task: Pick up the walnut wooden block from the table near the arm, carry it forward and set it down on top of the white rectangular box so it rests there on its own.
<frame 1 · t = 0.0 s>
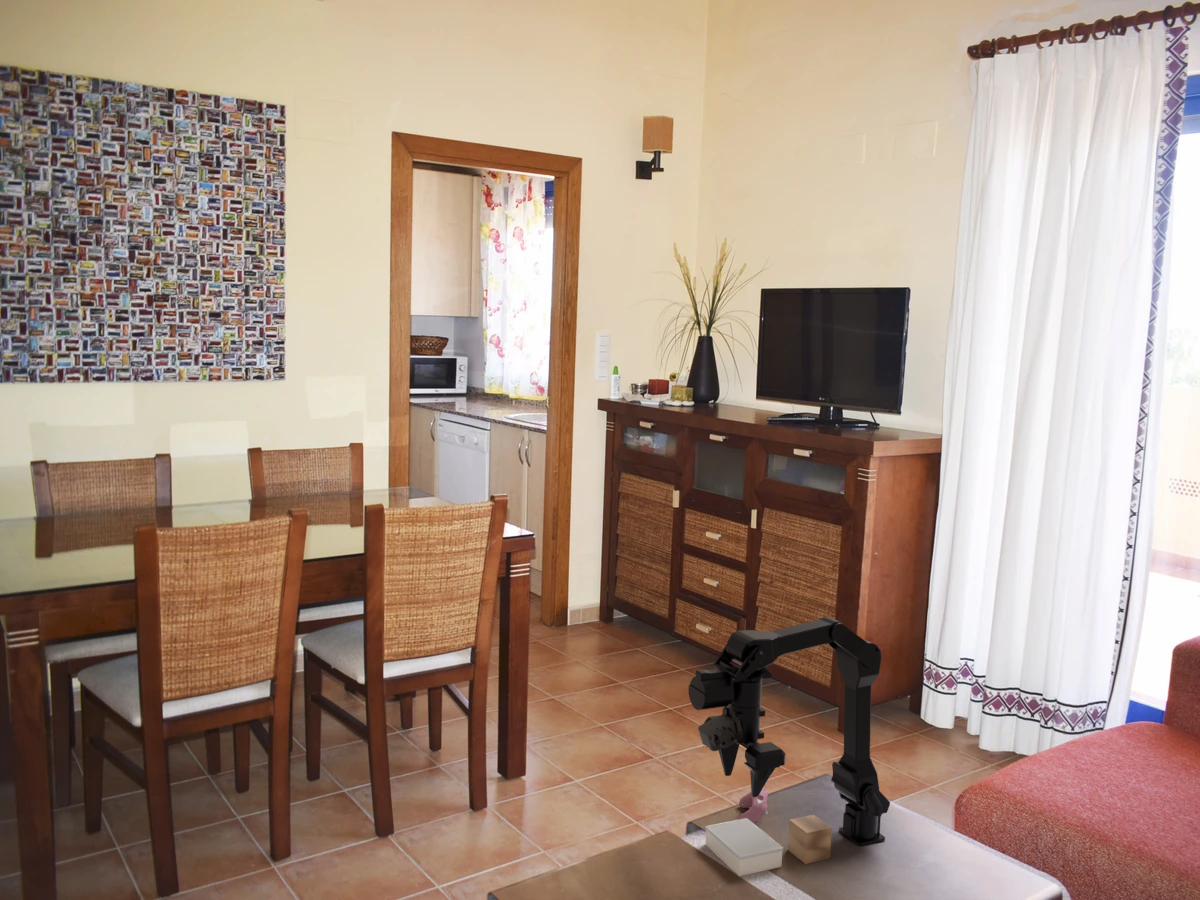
hand: (741, 785, 174), 15 cm above the table, tool pointing down, fingers open, 9 cm apart
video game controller: (752, 819, 193), on the table
walnut block: (808, 854, 180), on the table
white rectangular box: (742, 857, 178), on the table
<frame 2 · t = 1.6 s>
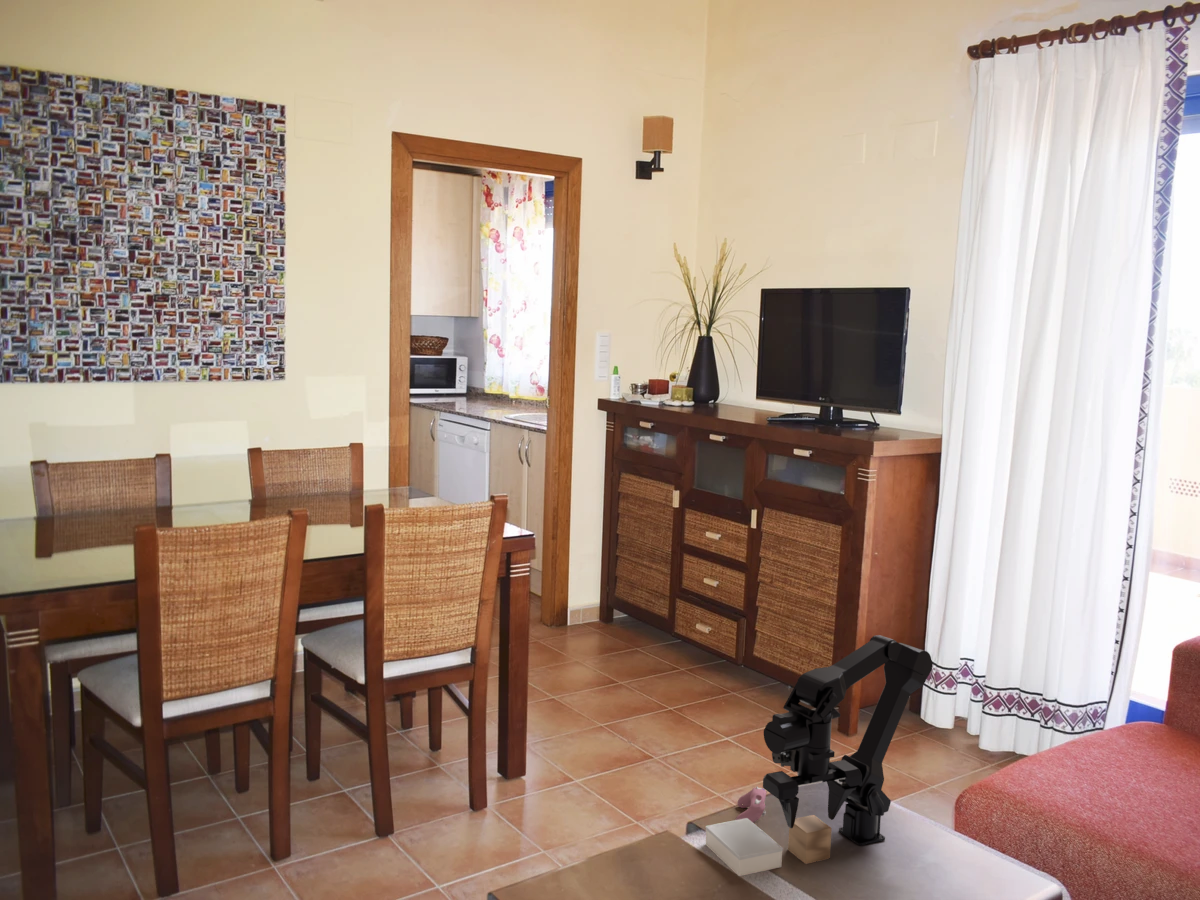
hand: (810, 823, 179), 6 cm above the table, tool pointing down, fingers open, 9 cm apart
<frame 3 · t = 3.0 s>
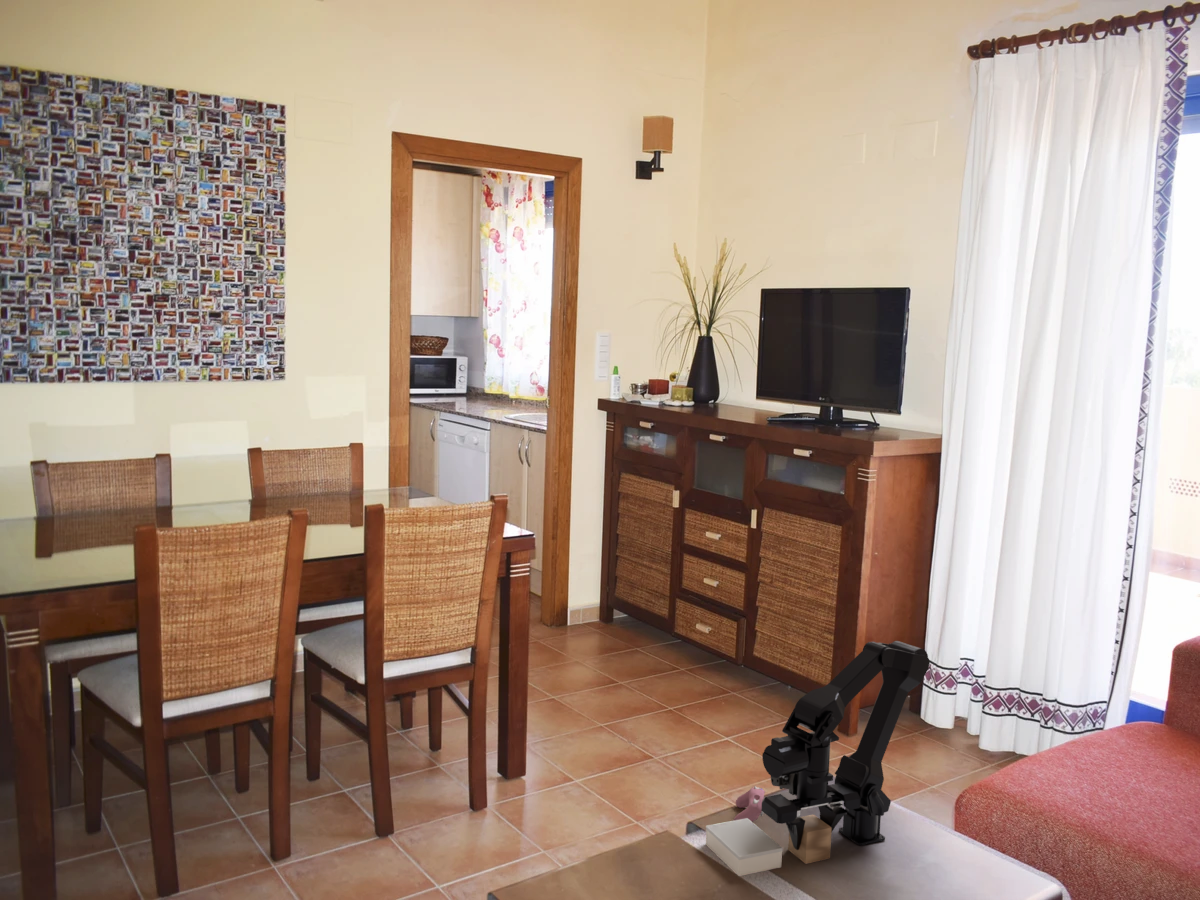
hand: (809, 846, 180), 2 cm above the table, tool pointing down, fingers closed on walnut block, 5 cm apart
walnut block: (808, 853, 180), on the table, touching gripper
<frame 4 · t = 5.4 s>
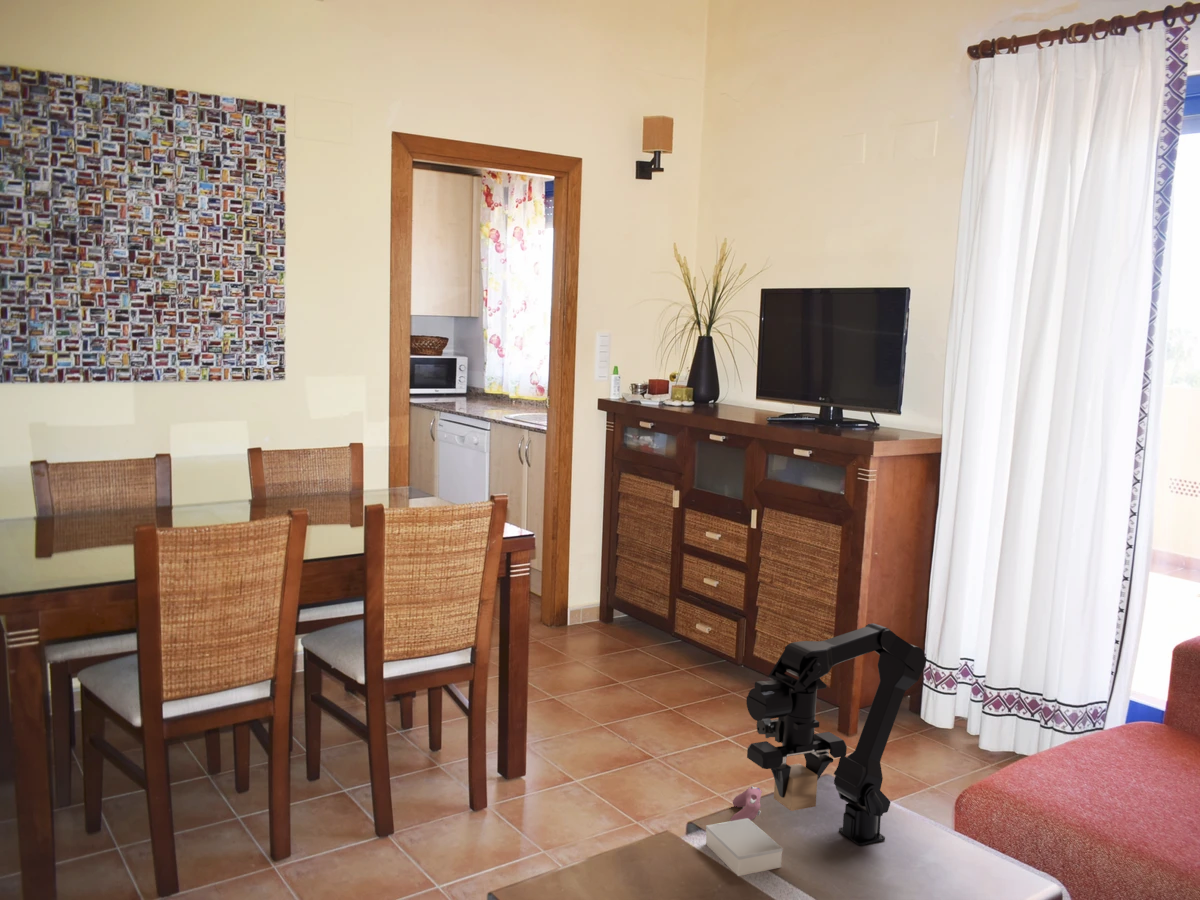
hand: (794, 794, 178), 12 cm above the table, tool pointing down, fingers closed on walnut block, 5 cm apart
walnut block: (794, 802, 178), point 10 cm above the table, touching gripper
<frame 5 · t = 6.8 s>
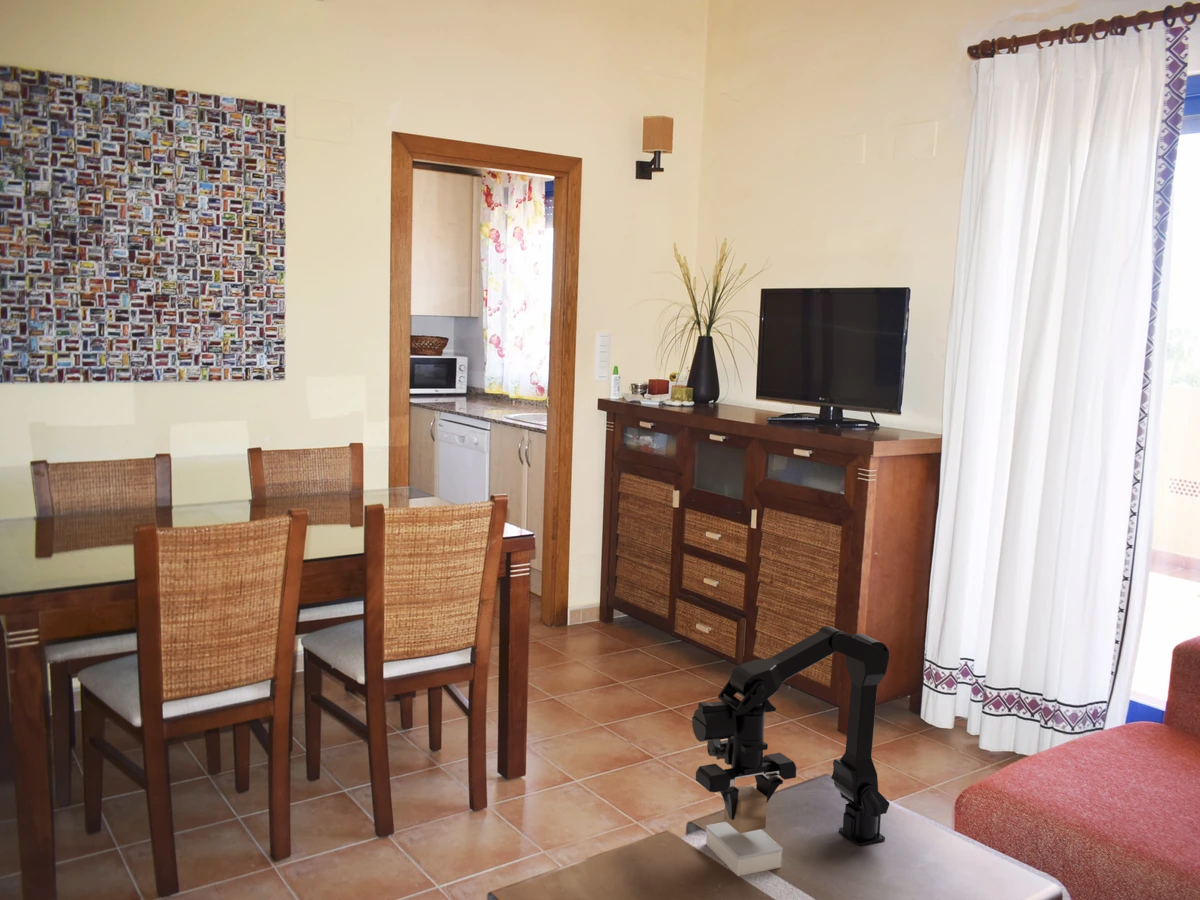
hand: (744, 816, 178), 8 cm above the table, tool pointing down, fingers closed on walnut block, 5 cm apart
walnut block: (744, 824, 178), point 6 cm above the table, touching gripper
when the fingers open (7 cm above the table, at t = 7.7 s): walnut block drops 2 cm, point 4 cm above the table.
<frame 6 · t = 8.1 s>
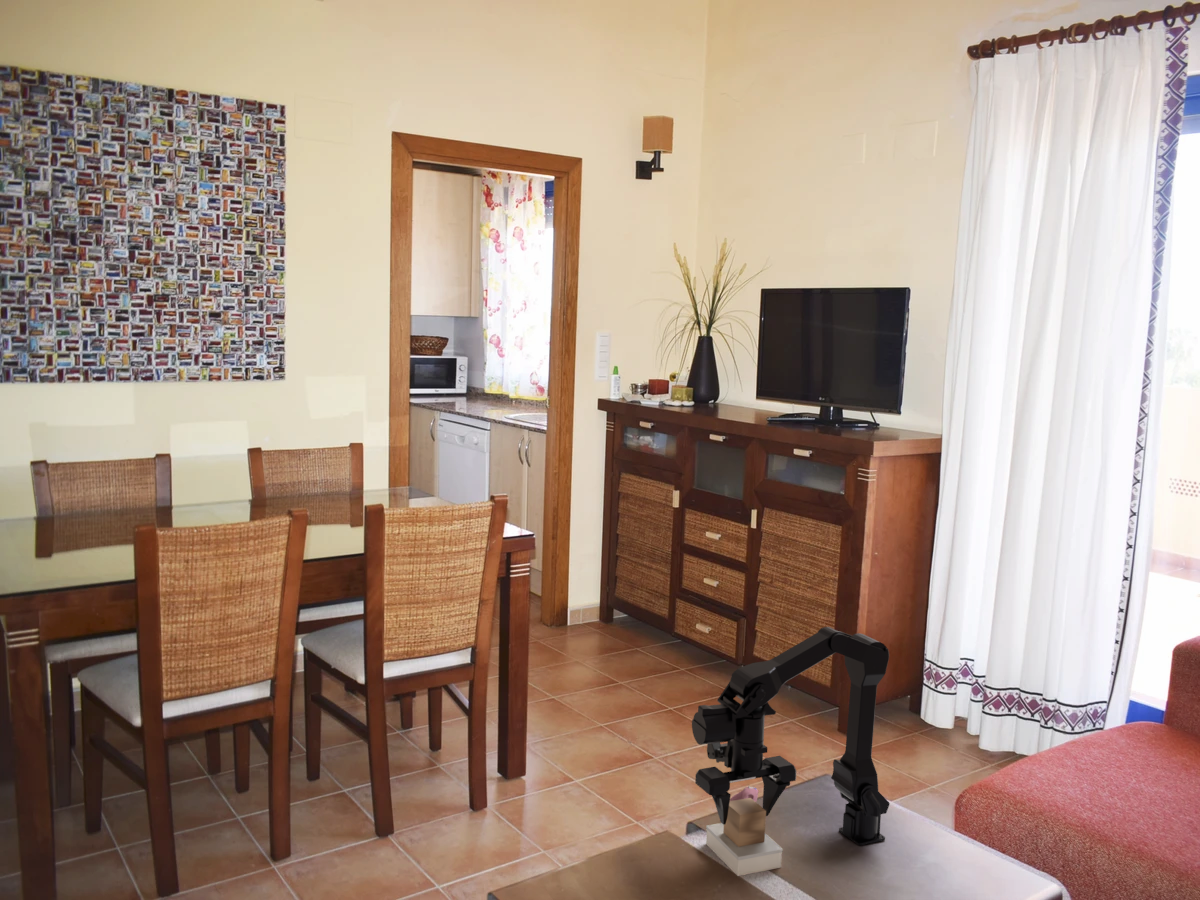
hand: (744, 819, 178), 7 cm above the table, tool pointing down, fingers open, 9 cm apart
walnut block: (743, 837, 178), point 4 cm above the table
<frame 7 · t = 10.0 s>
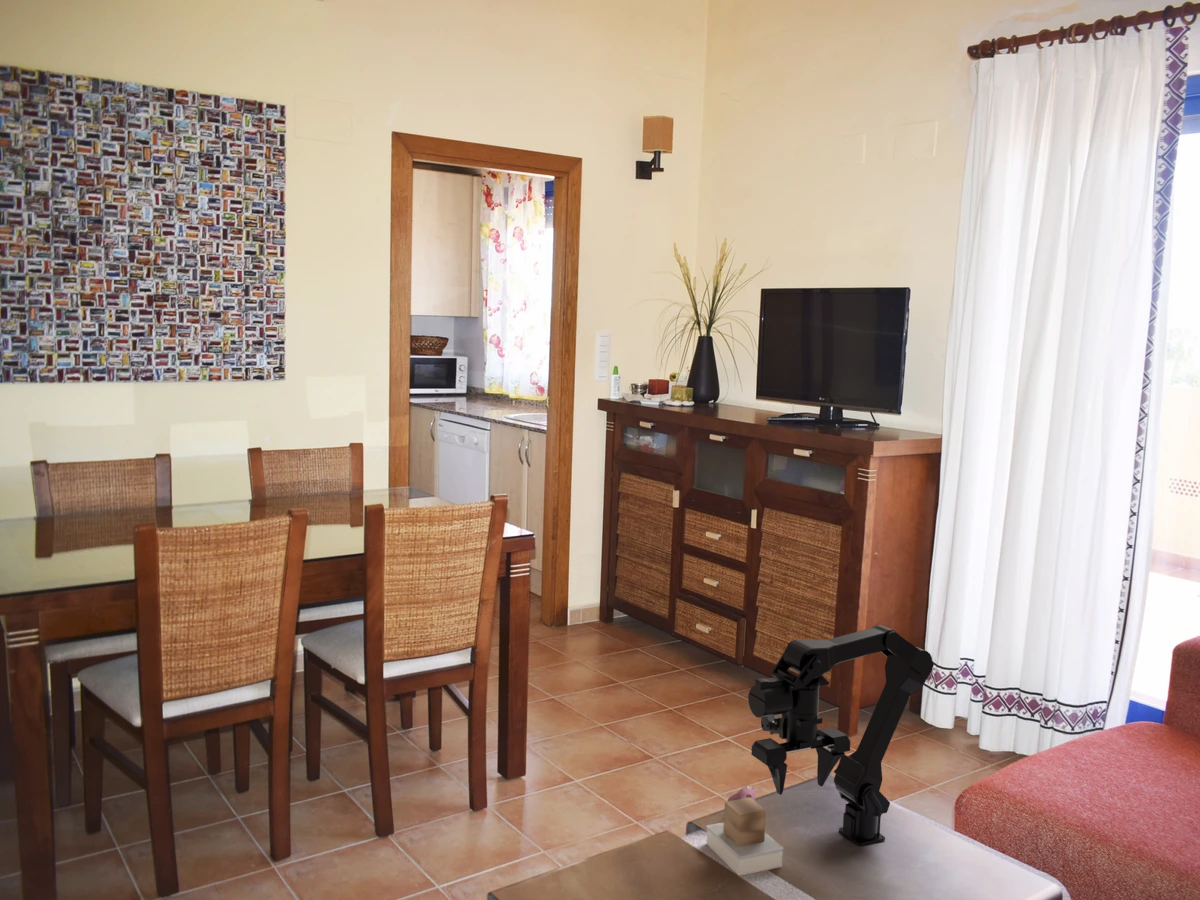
hand: (800, 789, 180), 12 cm above the table, tool pointing down, fingers open, 9 cm apart
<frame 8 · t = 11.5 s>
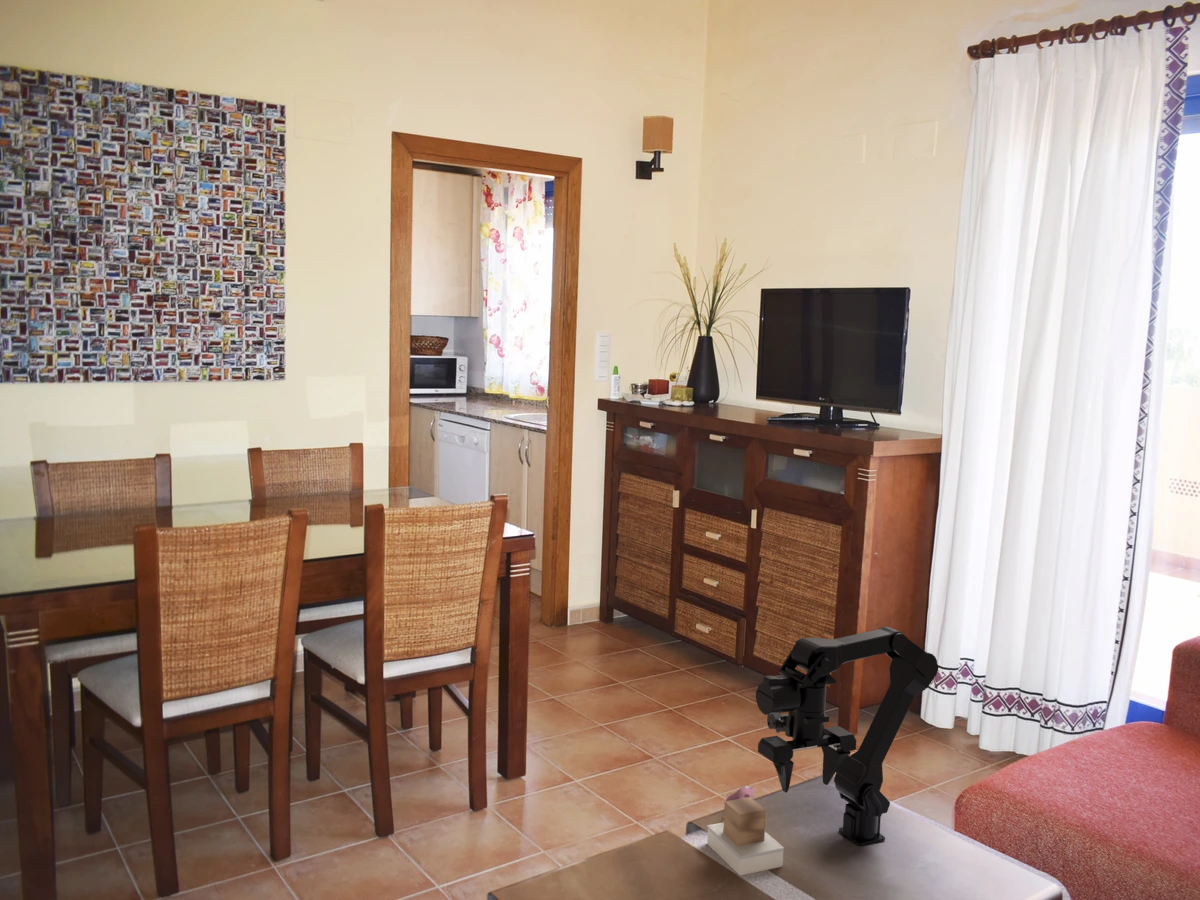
hand: (805, 787, 180), 12 cm above the table, tool pointing down, fingers open, 9 cm apart
walnut block: (743, 836, 178), point 4 cm above the table, touching white rectangular box
white rectangular box: (743, 856, 179), on the table, touching walnut block
at the end: walnut block inside the target area on the white rectangular box (0.3 cm from its centre), point 4.0 cm above the white rectangular box's base; the gripper is holding nothing; walnut block tilted 0° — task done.
